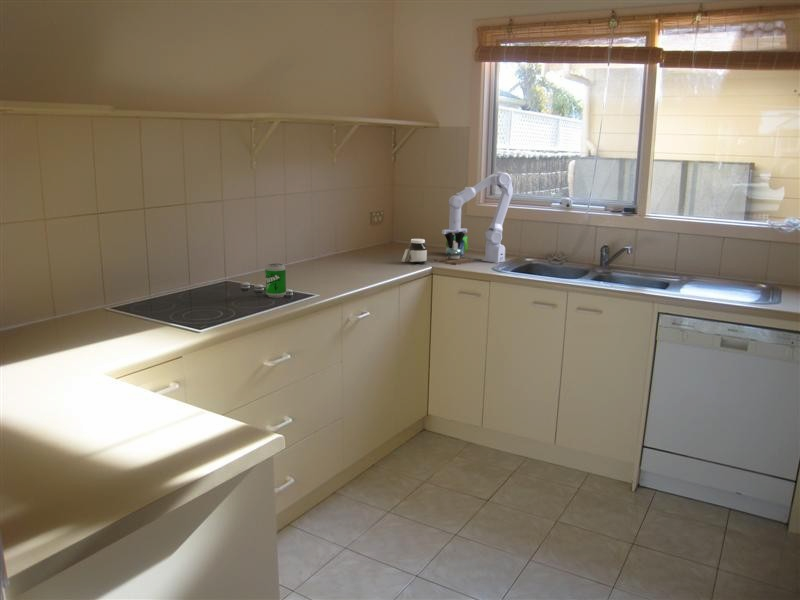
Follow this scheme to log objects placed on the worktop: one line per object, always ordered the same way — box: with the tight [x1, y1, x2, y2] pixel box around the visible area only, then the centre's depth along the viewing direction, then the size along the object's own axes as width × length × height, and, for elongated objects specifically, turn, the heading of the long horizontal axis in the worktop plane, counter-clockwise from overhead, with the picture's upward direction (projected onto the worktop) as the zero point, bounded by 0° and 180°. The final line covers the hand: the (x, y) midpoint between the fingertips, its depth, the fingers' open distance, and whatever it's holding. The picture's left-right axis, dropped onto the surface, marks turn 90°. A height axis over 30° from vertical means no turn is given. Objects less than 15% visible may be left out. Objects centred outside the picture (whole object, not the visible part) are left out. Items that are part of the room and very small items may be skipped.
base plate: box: [433, 254, 474, 265], centre depth 344 cm, size 14×14×4 cm
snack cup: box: [445, 235, 469, 257], centre depth 362 cm, size 16×10×10 cm
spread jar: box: [401, 238, 428, 265], centre depth 336 cm, size 12×11×12 cm
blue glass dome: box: [445, 241, 462, 256], centre depth 343 cm, size 9×8×6 cm
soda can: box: [264, 262, 287, 298], centre depth 262 cm, size 8×8×12 cm
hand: (454, 247), depth 343 cm, fingers closed on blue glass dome, 4 cm apart
